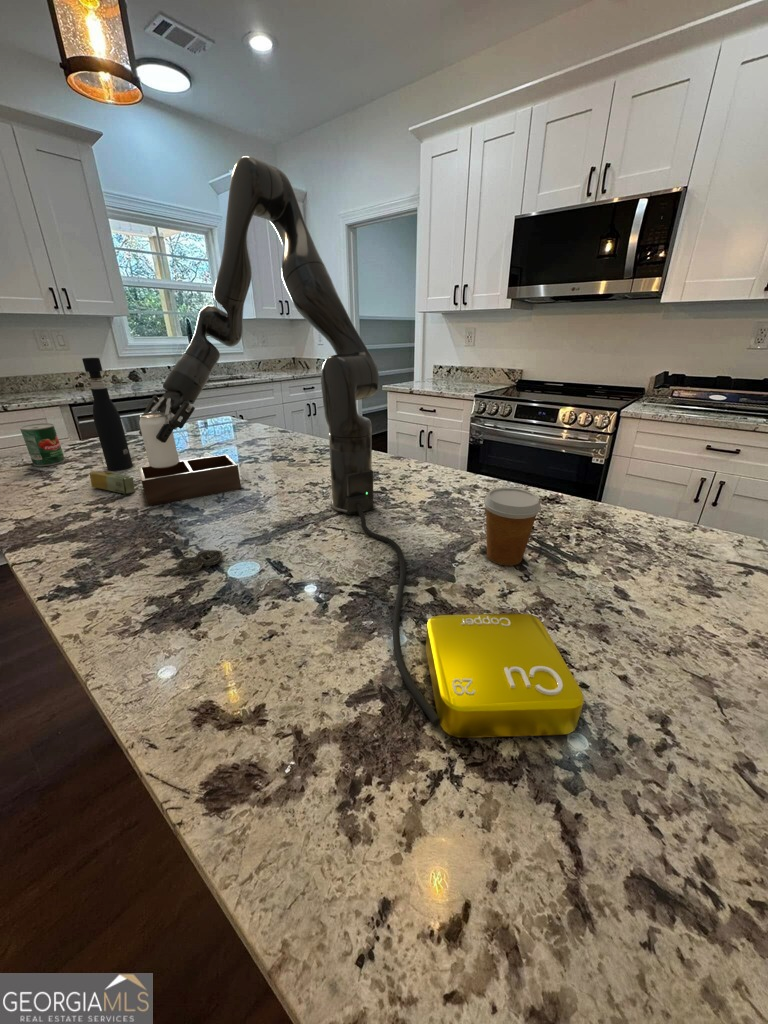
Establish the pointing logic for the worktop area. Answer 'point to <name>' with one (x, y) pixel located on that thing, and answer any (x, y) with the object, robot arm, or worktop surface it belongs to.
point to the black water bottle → (107, 420)
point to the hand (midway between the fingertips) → (151, 438)
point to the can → (157, 441)
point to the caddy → (189, 479)
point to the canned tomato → (43, 444)
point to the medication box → (112, 482)
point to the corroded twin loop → (199, 561)
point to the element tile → (499, 677)
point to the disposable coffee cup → (509, 523)
